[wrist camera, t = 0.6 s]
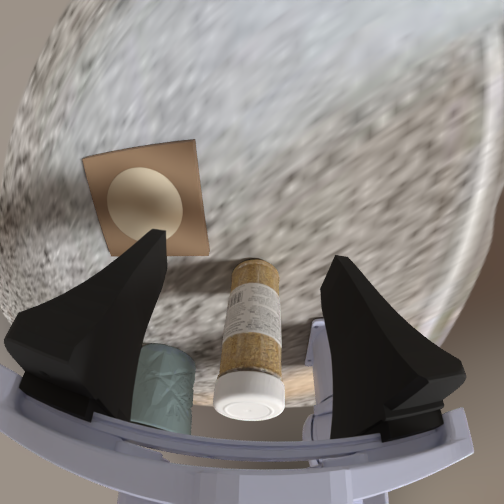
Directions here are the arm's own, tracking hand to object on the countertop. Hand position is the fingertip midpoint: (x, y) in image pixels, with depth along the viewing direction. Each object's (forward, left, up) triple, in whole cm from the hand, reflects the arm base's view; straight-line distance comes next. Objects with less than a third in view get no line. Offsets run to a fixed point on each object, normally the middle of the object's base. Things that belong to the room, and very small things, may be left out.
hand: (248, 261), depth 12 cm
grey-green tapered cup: (-26, +13, -11) cm, 31 cm away
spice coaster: (-2, +9, -11) cm, 14 cm away
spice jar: (-10, 0, -11) cm, 15 cm away
